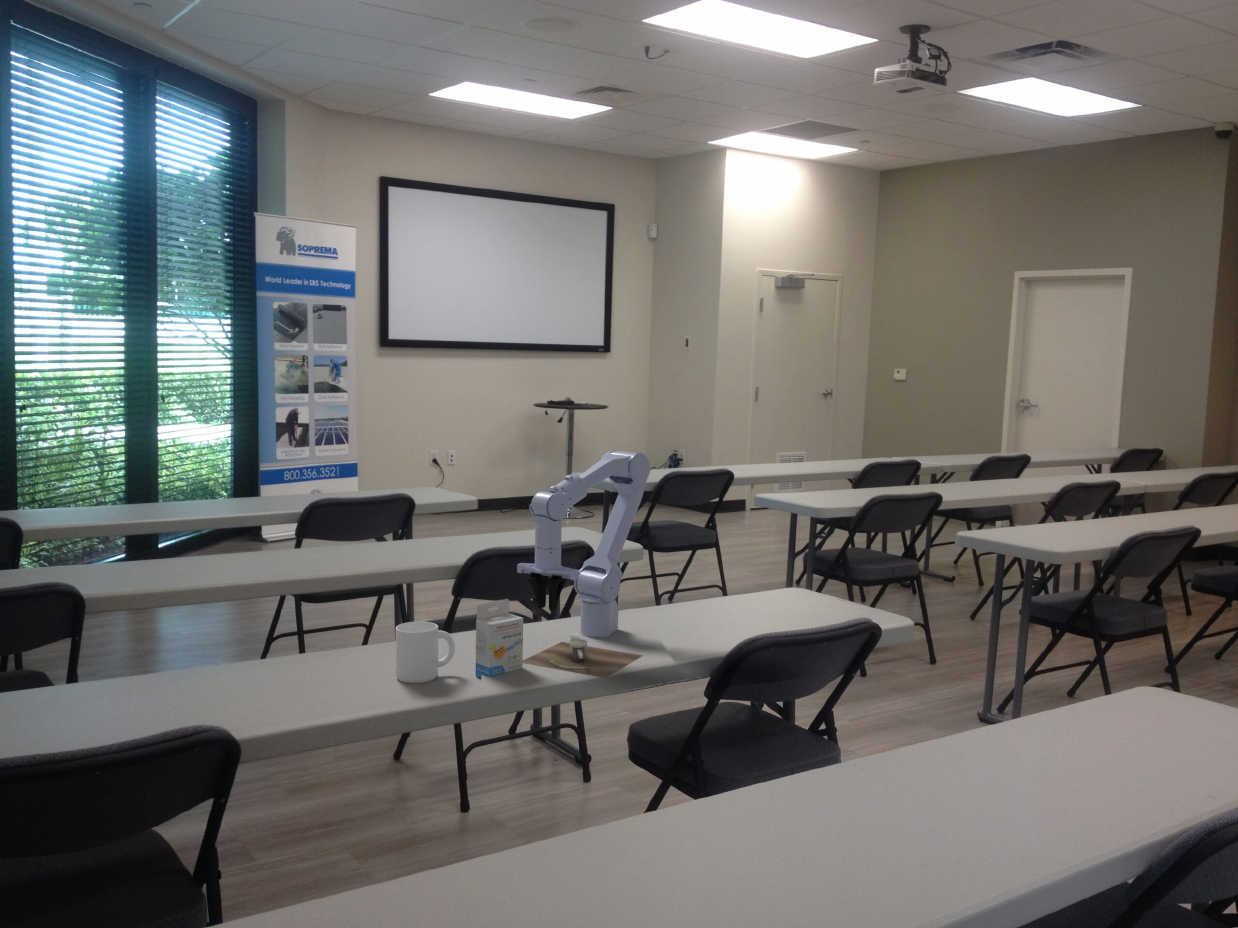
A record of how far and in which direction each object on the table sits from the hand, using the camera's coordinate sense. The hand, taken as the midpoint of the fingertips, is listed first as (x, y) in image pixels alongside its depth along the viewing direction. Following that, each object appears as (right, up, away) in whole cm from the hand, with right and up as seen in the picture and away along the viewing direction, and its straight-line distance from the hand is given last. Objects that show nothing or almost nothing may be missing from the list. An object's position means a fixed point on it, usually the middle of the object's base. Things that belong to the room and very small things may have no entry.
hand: (547, 608), depth 216 cm
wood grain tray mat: (+8, -10, -8) cm, 16 cm away
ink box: (-8, -11, -17) cm, 22 cm away
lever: (+7, -9, -8) cm, 14 cm away
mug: (-23, -11, -18) cm, 31 cm away
